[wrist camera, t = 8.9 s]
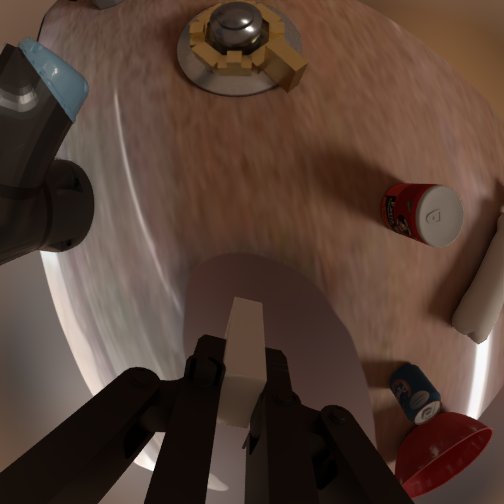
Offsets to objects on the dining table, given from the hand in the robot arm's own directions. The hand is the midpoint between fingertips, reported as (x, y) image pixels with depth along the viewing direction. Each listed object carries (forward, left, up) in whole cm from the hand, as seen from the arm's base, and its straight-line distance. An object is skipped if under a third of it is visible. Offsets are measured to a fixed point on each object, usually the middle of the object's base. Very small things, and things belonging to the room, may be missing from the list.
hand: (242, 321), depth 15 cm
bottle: (+46, +9, -25) cm, 53 cm away
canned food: (+21, +11, -25) cm, 34 cm away
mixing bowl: (+58, -37, -25) cm, 73 cm away
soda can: (+36, -18, -25) cm, 47 cm away
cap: (-9, +28, -24) cm, 38 cm away
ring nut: (-7, +27, -23) cm, 36 cm away
